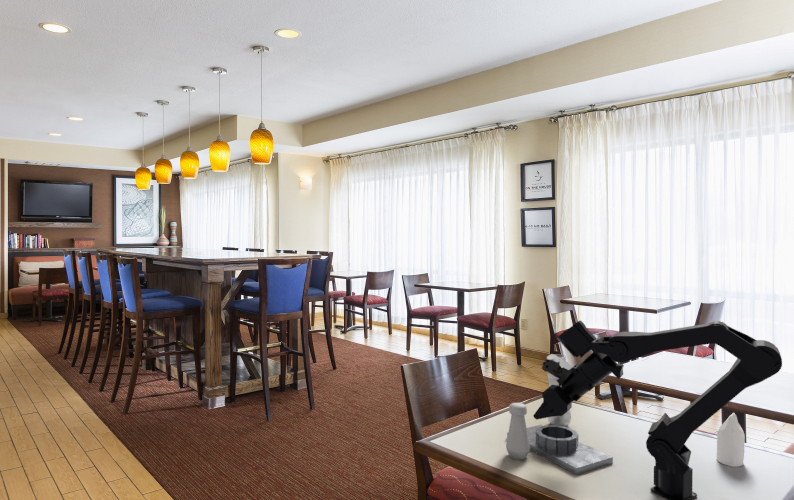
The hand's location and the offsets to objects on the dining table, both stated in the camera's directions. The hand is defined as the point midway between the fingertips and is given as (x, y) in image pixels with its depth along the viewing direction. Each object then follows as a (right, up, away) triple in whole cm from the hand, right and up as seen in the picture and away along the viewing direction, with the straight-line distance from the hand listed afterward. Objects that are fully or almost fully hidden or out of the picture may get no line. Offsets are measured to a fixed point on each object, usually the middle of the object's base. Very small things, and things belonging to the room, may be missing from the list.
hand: (541, 411), depth 123 cm
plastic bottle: (+12, -12, +24) cm, 29 cm away
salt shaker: (-5, -12, +4) cm, 14 cm away
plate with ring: (+6, -12, +7) cm, 15 cm away
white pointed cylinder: (+45, -12, -1) cm, 47 cm away
